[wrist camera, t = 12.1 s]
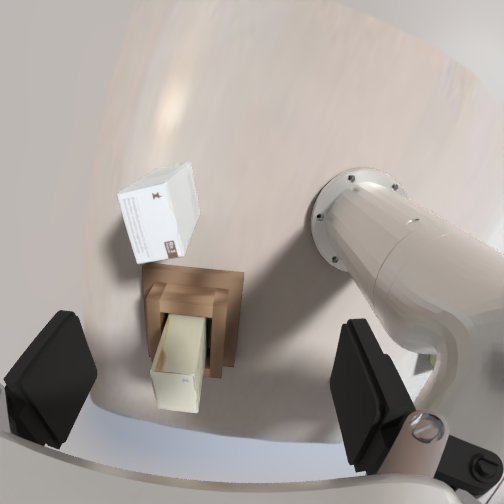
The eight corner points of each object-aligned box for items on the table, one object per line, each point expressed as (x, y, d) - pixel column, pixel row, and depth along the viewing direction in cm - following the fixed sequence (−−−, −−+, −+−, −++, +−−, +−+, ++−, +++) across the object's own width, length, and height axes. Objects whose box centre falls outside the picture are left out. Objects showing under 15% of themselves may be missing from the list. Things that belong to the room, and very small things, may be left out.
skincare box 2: (172, 298, 37) (147, 367, 25) (208, 300, 37) (194, 372, 25) (176, 339, 39) (156, 410, 28) (208, 342, 39) (198, 415, 28)
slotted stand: (243, 272, 37) (243, 296, 32) (234, 359, 42) (233, 387, 37) (145, 262, 36) (131, 283, 31) (151, 350, 42) (142, 376, 37)
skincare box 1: (154, 168, 32) (110, 191, 21) (193, 160, 32) (165, 178, 21) (166, 221, 34) (131, 267, 23) (204, 214, 34) (184, 258, 23)
